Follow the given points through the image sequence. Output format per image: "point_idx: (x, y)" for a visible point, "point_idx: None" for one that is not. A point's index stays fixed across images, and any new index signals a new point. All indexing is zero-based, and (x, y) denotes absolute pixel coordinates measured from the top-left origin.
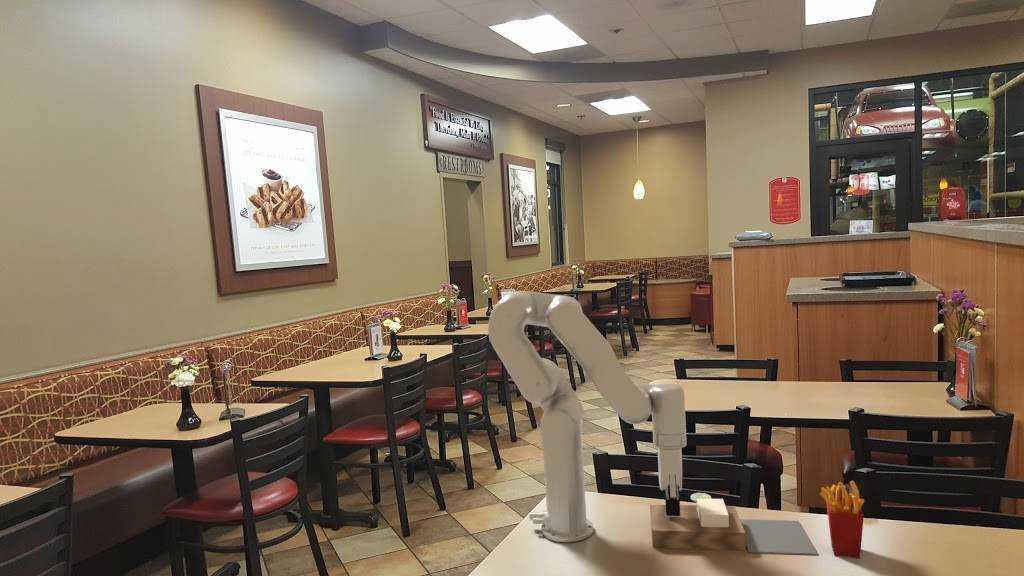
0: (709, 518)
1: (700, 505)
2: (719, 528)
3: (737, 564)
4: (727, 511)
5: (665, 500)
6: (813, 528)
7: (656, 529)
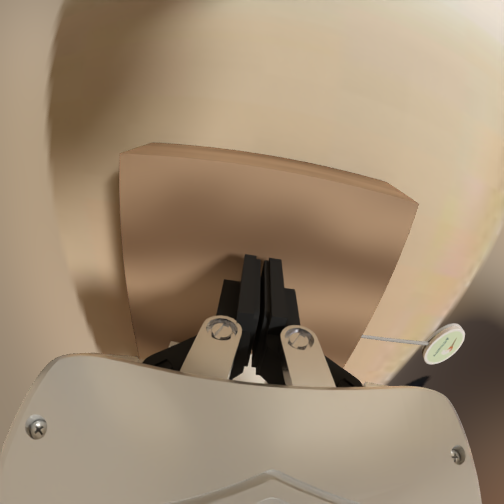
0: None
1: None
2: None
3: (100, 333)
4: None
5: (251, 303)
6: None
7: (127, 176)
